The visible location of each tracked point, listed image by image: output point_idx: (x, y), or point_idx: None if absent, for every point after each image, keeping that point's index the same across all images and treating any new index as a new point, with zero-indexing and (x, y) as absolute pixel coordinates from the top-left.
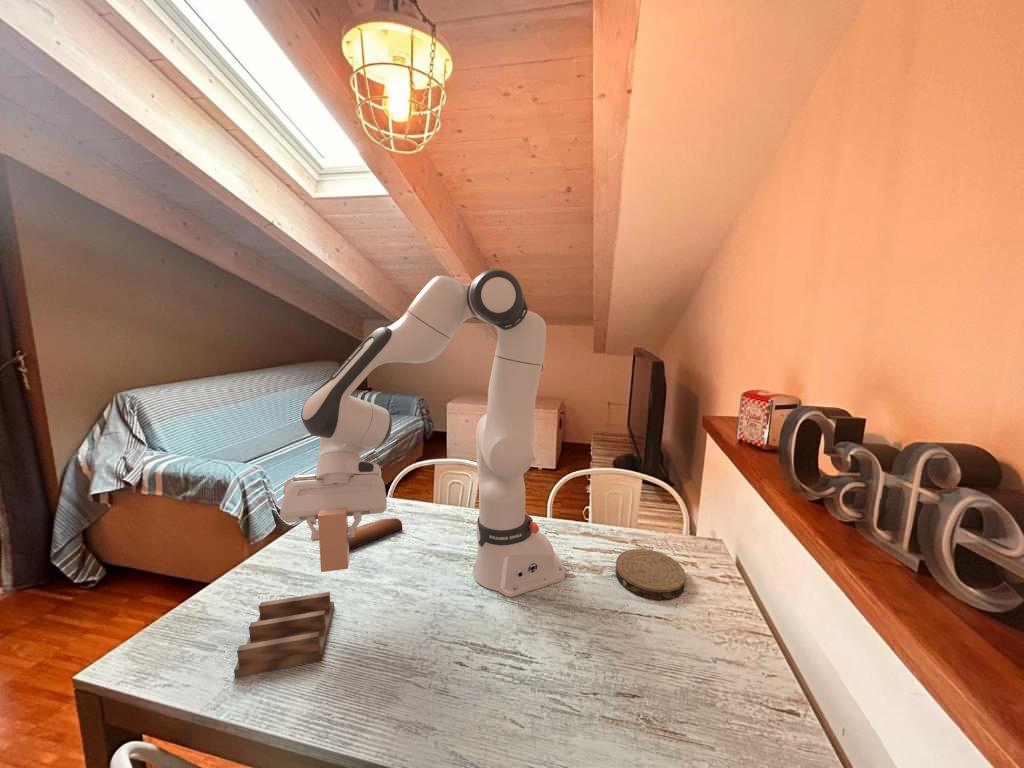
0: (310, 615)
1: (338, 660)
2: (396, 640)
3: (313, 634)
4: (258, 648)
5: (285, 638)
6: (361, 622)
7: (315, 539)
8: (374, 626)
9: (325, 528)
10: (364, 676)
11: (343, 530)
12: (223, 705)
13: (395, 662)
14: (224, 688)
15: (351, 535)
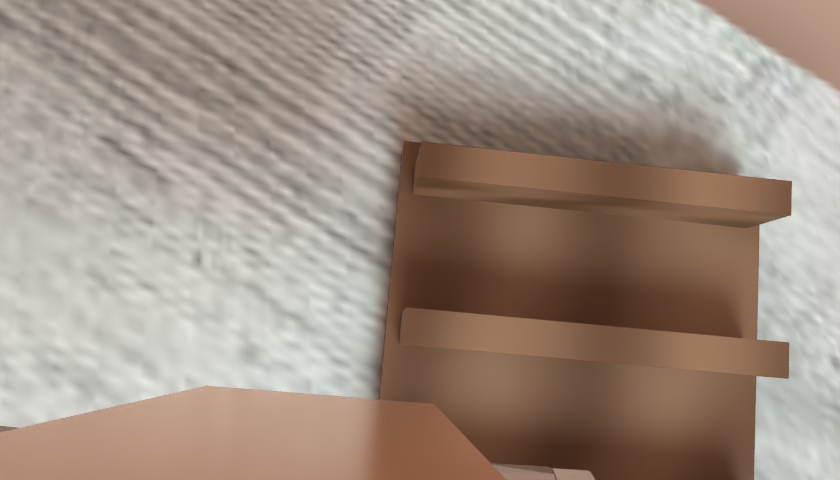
0: (479, 325)
1: (329, 128)
2: (58, 153)
3: (445, 165)
4: (696, 172)
5: (581, 185)
6: (222, 341)
7: (527, 469)
8: (157, 287)
9: (377, 466)
10: (219, 2)
11: (76, 433)
12: (738, 65)
13: (80, 26)
14: (762, 145)
15: (2, 428)
